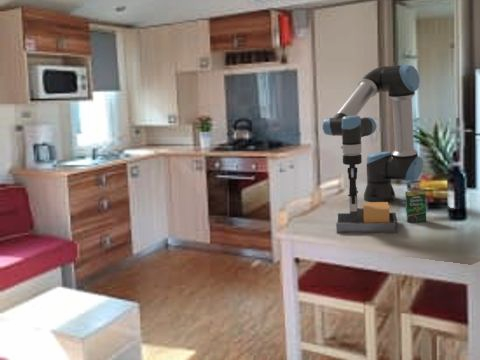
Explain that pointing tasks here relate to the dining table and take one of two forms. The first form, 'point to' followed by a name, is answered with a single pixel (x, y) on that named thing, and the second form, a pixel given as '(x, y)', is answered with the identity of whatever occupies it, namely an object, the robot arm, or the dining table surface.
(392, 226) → the bay
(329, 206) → the dining table surface
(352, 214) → the grey and orange block
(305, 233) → the dining table surface
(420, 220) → the coffee box
